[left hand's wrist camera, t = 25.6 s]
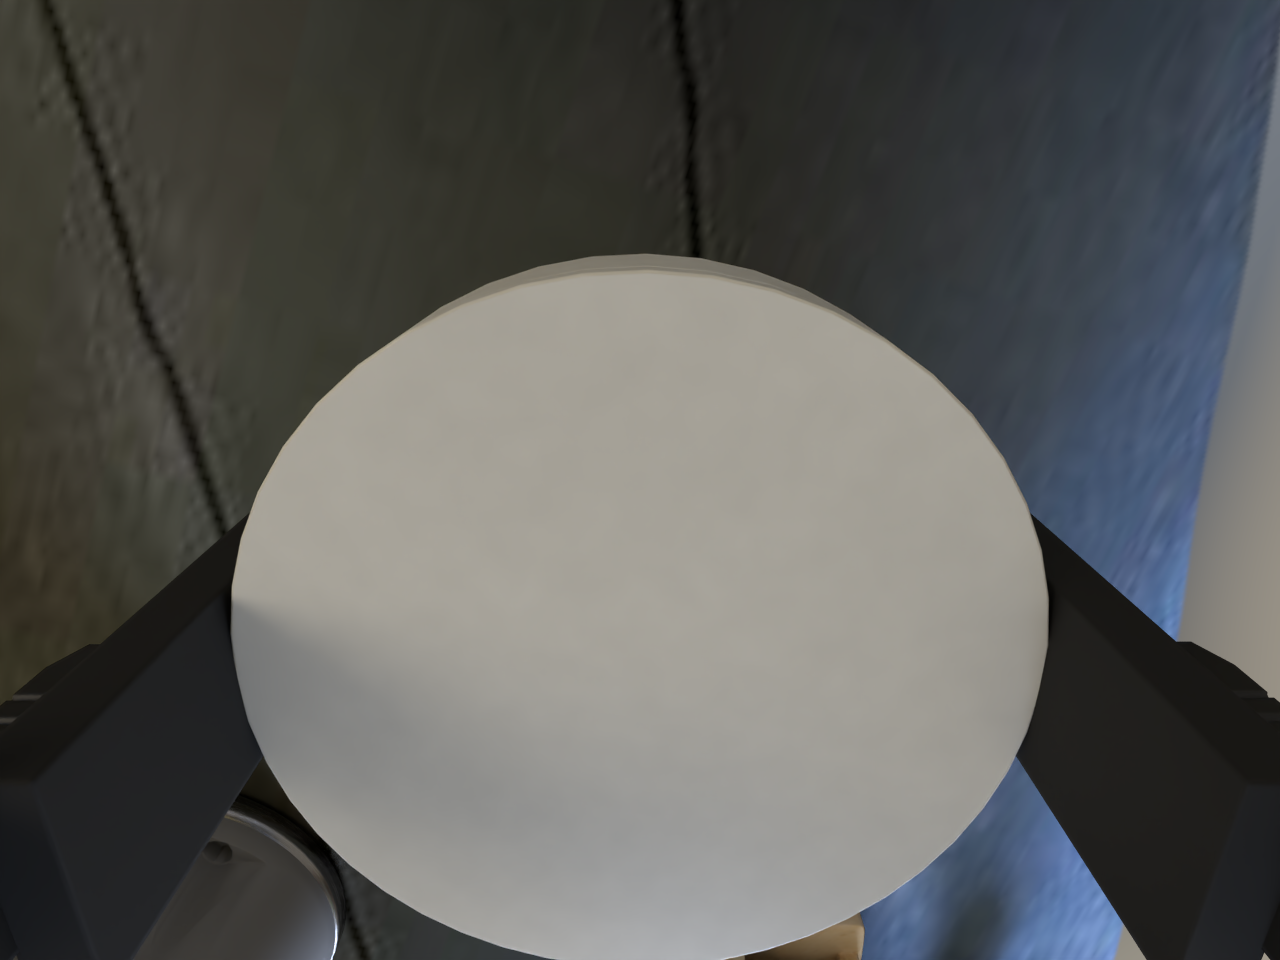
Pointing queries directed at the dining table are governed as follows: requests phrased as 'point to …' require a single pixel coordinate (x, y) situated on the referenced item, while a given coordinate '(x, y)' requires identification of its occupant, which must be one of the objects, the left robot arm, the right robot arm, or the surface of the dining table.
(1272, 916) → the left robot arm
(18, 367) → the dining table surface
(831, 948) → the pounding bench toy
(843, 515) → the lid
